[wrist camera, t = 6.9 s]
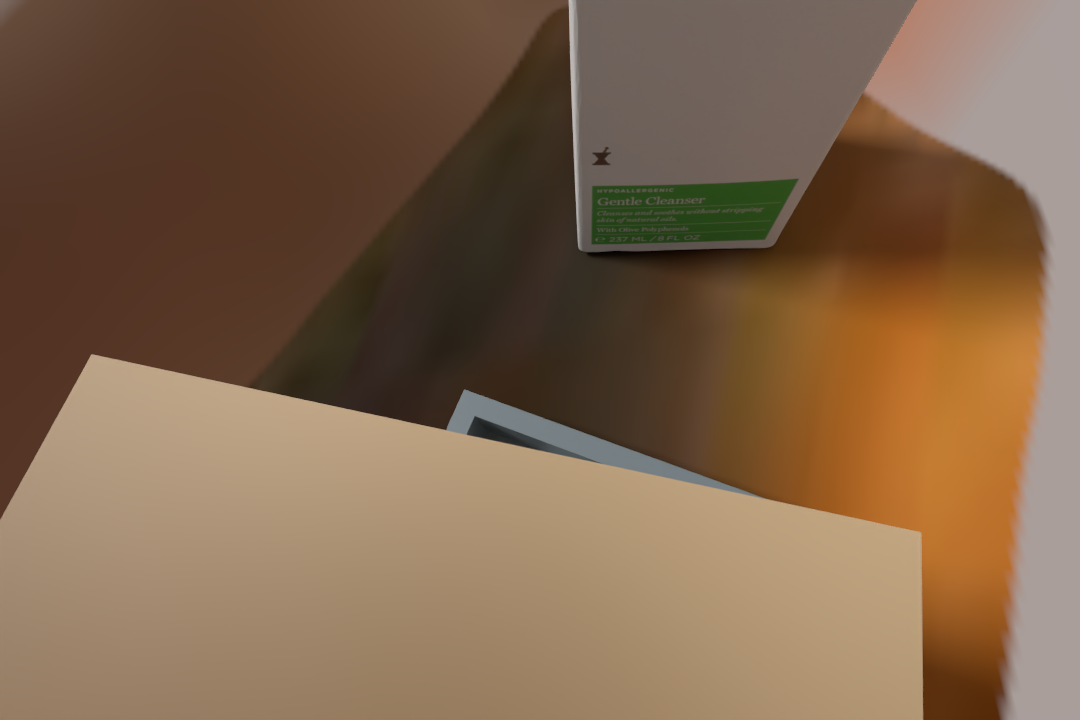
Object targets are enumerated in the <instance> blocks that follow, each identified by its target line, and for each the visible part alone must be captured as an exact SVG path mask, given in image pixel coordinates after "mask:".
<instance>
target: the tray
mask: <svg viewBox="0 0 1080 720" xmlns="http://www.w3.org/2000/svg"><path fill="white" fill-rule="evenodd" d="M446 431H451V432H456V433H460V434H465V435H470V436H474V437H479V438H484V439H488V440H493V441H498V442H502V443H507V444H512V445H516V446H521V447H526V448H530V449H535V450H539V451H544V452H549V453H553V454H558V455H563V456H567V457H572V458H577V459H581V460H586V461H591V462H595V463H600V464H605V465H609V466H614V467H619V468H623V469H628V470H633V471H637V472H642V473H647V474H651V475H656V476H661V477H665V478H670V479H675V480H679V481H684V482H689V483H693V484H698V485H703V486H707V487H712V488H717V489H721V490H726V491H731V492H735V493H740V494H744V495H749V496H754V497H758V498H762V497H759V496H757V495H754V494H751V493H748V492H746V491H743V490H740V489H737V488H735V487H732V486H729V485H726V484H724V483H721V482H718V481H715V480H713V479H710V478H707V477H704V476H701V475H699V474H696V473H693V472H690V471H688V470H685V469H682V468H679V467H677V466H674V465H671V464H668V463H666V462H663V461H660V460H657V459H655V458H652V457H649V456H646V455H644V454H641V453H638V452H635V451H633V450H630V449H627V448H624V447H621V446H619V445H616V444H613V443H610V442H608V441H605V440H602V439H599V438H597V437H594V436H591V435H588V434H586V433H583V432H580V431H577V430H575V429H572V428H569V427H566V426H564V425H561V424H558V423H555V422H553V421H550V420H547V419H544V418H541V417H539V416H536V415H533V414H530V413H528V412H525V411H522V410H519V409H517V408H514V407H511V406H508V405H506V404H503V403H500V402H497V401H495V400H492V399H489V398H486V397H484V396H481V395H478V394H475V393H473V392H470V391H467V390H464V391H463V394H462V396H461V398H460V400H459V402H458V405H457V407H456V409H455V411H454V413H453V416H452V418H451V420H450V422H449V425H448V427H447V429H446ZM763 499H765V498H763Z"/></svg>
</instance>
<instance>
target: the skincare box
mask: <svg viewBox="0 0 1080 720" xmlns="http://www.w3.org/2000/svg"><path fill="white" fill-rule="evenodd" d="M916 1H917V0H569V24H570V62H571V91H572V118H573V144H574V167H575V190H576V212H577V233H578V248H579V249H580V250H581V251H584V252H606V251H659V250H690V249H733V248H768V247H771V246H773V245H774V244H775V243H776V241H777V239H778V237H779V235H780V234H781V232H782V230H783V228H784V226H785V225H786V223H787V221H788V220H789V218H790V216H791V215H792V213H793V211H794V209H795V208H796V206H797V204H798V203H799V201H800V199H801V198H802V196H803V194H804V192H805V191H806V189H807V187H808V186H809V184H810V182H811V181H812V179H813V177H814V176H815V174H816V172H817V170H818V169H819V167H820V165H821V164H822V162H823V160H824V158H825V157H826V155H827V153H828V152H829V150H830V148H831V146H832V145H833V143H834V141H835V140H836V138H837V136H838V134H839V133H840V131H841V129H842V128H843V126H844V124H845V122H846V121H847V119H848V117H849V116H850V114H851V112H852V110H853V109H854V107H855V105H856V103H857V102H858V100H859V98H860V97H861V95H862V93H863V92H864V90H865V88H866V87H867V85H868V83H869V82H870V80H871V78H872V76H873V75H874V73H875V71H876V70H877V68H878V66H879V64H880V63H881V61H882V59H883V57H884V55H885V54H886V52H887V50H888V49H889V47H890V46H891V44H892V42H893V40H894V38H895V37H896V35H897V34H898V32H899V30H900V28H901V27H902V25H903V23H904V21H905V20H906V18H907V16H908V15H909V13H910V11H911V9H912V8H913V6H914V4H915V2H916Z"/></svg>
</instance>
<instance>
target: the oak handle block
mask: <svg viewBox="0 0 1080 720" xmlns="http://www.w3.org/2000/svg"><path fill="white" fill-rule="evenodd" d="M0 720H923V649H922V541H921V532H917V531H912V530H908V529H903V528H898V527H894V526H889V525H884V524H880V523H875V522H870V521H866V520H861V519H856V518H852V517H847V516H842V515H838V514H833V513H828V512H824V511H819V510H814V509H810V508H805V507H800V506H796V505H791V504H786V503H782V502H777V501H772V500H768V499H763V498H758V497H754V496H749V495H744V494H740V493H735V492H731V491H726V490H721V489H717V488H712V487H707V486H703V485H698V484H693V483H689V482H684V481H679V480H675V479H670V478H665V477H661V476H656V475H651V474H647V473H642V472H637V471H633V470H628V469H623V468H619V467H614V466H609V465H605V464H600V463H595V462H591V461H586V460H581V459H577V458H572V457H567V456H563V455H558V454H553V453H549V452H544V451H539V450H535V449H530V448H526V447H521V446H516V445H512V444H507V443H502V442H498V441H493V440H488V439H484V438H479V437H474V436H470V435H465V434H460V433H456V432H451V431H446V430H442V429H437V428H432V427H428V426H423V425H418V424H414V423H409V422H404V421H400V420H395V419H390V418H386V417H381V416H376V415H372V414H367V413H362V412H358V411H353V410H348V409H344V408H339V407H334V406H330V405H325V404H321V403H316V402H311V401H307V400H302V399H297V398H293V397H288V396H283V395H279V394H274V393H269V392H265V391H260V390H255V389H251V388H246V387H241V386H236V385H232V384H227V383H223V382H218V381H213V380H208V379H204V378H199V377H194V376H190V375H185V374H180V373H176V372H171V371H167V370H162V369H157V368H153V367H148V366H143V365H139V364H134V363H129V362H125V361H120V360H115V359H111V358H106V357H102V356H97V355H91V357H90V358H89V360H88V362H87V364H86V366H85V367H84V369H83V371H82V373H81V375H80V377H79V378H78V380H77V382H76V384H75V386H74V387H73V389H72V391H71V393H70V395H69V396H68V398H67V400H66V402H65V404H64V405H63V407H62V409H61V411H60V413H59V415H58V416H57V418H56V420H55V422H54V424H53V425H52V427H51V429H50V431H49V433H48V435H47V436H46V438H45V440H44V442H43V443H42V445H41V447H40V449H39V451H38V453H37V454H36V456H35V458H34V460H33V462H32V463H31V465H30V467H29V469H28V471H27V473H26V474H25V476H24V478H23V480H22V481H21V483H20V485H19V487H18V489H17V491H16V492H15V494H14V496H13V498H12V500H11V502H10V503H9V505H8V507H7V509H6V511H5V512H4V514H3V516H2V518H1V520H0Z"/></svg>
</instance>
